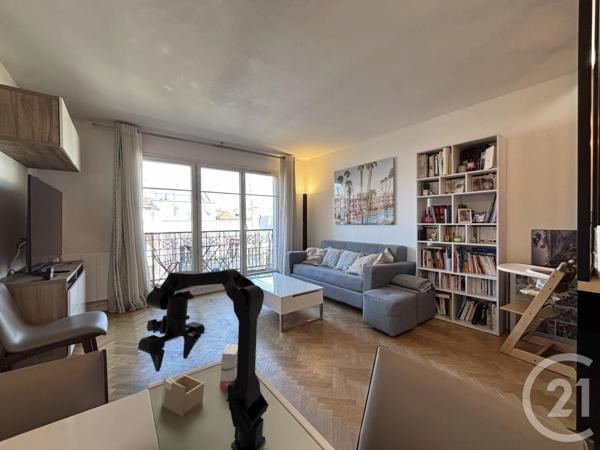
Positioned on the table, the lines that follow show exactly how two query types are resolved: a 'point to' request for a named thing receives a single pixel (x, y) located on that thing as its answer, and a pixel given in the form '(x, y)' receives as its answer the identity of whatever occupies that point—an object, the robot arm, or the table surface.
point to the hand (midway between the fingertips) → (171, 364)
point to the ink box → (228, 365)
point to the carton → (191, 392)
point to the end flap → (173, 396)
